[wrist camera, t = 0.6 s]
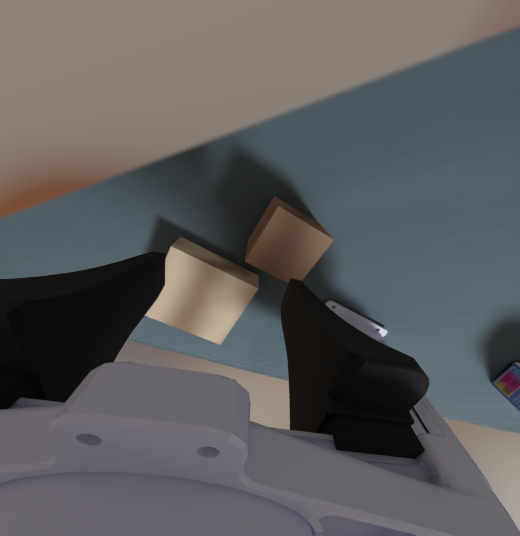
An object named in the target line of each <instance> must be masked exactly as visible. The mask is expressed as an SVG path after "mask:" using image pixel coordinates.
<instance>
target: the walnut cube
mask: <svg viewBox="0 0 520 536" xmlns="http://www.w3.org/2000/svg"><path fill="white" fill-rule="evenodd" d="M333 241H334V239H333V238H332V237H331V236H330V235H329V234H328V233H327V232H326V231H325V230H324V229H323V227H322V226H321V225H320V224H319V223H318V222H316V221H315V220H313V219H311V218H310V217H308V216H307V215H305V214H303V213H302V212H300V211H298V210H297V209H295V208H294V207H292V206H290V205H289V204H287V203H286V202H284V201H282V200H281V199H279V198H278V197H276V196H274V197H273V198H272V200H271V202H270V203H269V205H268V207H267V209H266V210H265V212H264V214H263V215H262V217H261V219H260V221H259V222H258V224H257V226H256V227H255V229H254V231H253V233H252V234H251V236H250V238H249V239H248V243H247V250H246V257H245V262H247V263H249V264H251V265H253V266H255V267H257V268H259V269H261V270H262V271H264V272H266V273H268V274H270V275H272V276H274V277H276V278H278V279H280V280H282V281H284V282H286V283H289V280H290V278H291V279H297V280H300V281H302V280H303V279H304V278H305V276H306V275H307V274H308V272H309V271H310V270H311V269H312V267H313V266H314V265H315V264H316V262H317V261H318V260H319V259H320V257H321V256H322V255H323V253H324V252H325V251H326V250H327V248H328V247H329V246H330V245H331V243H332V242H333Z"/></svg>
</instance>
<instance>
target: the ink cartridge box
mask: <svg viewBox="0 0 520 536" xmlns="http://www.w3.org/2000/svg"><path fill="white" fill-rule="evenodd" d="M491 384H492V385H493V386H494V387H495V388H496V389H497V390H498V391H499V392H500V393H501V394H502V395H503V396H504V397H505V398H506V399H507V400H508V401H509V402H510V403H511V404H513V405H514V406H515V407H516V408H517V409H518V410H519V411H520V363H519V362H514V363H513V364H512V365H511V366H510V367H509V368H508V369H506V370H505V371H504V372H503V373H502V374H501V375H499V376H498V377H497V378H496V379H495V380H493V381H492V382H491Z"/></svg>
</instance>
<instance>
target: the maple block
mask: <svg viewBox="0 0 520 536" xmlns="http://www.w3.org/2000/svg"><path fill="white" fill-rule="evenodd" d="M258 289H259V275H257V274H255V273H253V272H251V271H249V270H247V269H245V268H243V267H241V266H239V265H237V264H235V263H233V262H231V261H229V260H227V259H225V258H223V257H221V256H219V255H217V254H215V253H213V252H211V251H209V250H207V249H205V248H203V247H201V246H199V245H197V244H195V243H193V242H191V241H189V240H187V239H185V238H183V237H180V238H179V239H178V240H177V241H176V242H175V243H174V244H173V245H172V246H171V247H170V250H169V252H168V255H167V257H166V259H165V286H164V288H163V290H162V291H161V293H160V295H159V297H158V298H157V300H156V301H155V302H154V304H153V305H152V306H151V308H150V309H149V310H148V312H147V313H146V314H145V316H148V317H150V318H153V319H155V320H158V321H160V322H163V323H166V324H168V325H171V326H173V327H176V328H178V329H181V330H184V331H186V332H189V333H191V334H194V335H196V336H199V337H202V338H204V339H207V340H209V341H212V342H214V343H217V344H221V343H222V342H223V340H224V339H225V337H226V336H227V334H228V333H229V331H230V330H231V328H232V327H233V326H234V324H235V323H236V321H237V320H238V318H239V317H240V315H241V314H242V312H243V311H244V309H245V308H246V307H247V305H248V304H249V302H250V301H251V299H252V298H253V296H254V295H255V293H256V292H257V291H258Z"/></svg>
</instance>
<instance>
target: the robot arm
mask: <svg viewBox="0 0 520 536" xmlns="http://www.w3.org/2000/svg"><path fill="white" fill-rule="evenodd" d="M165 255H166V254H164V253H159V252H150V253H146V254H142V255H139V256H136V257H132V258H129V259H126V260H122V261H119V262H115V263H111V264H108V265H104V266H100V267H96V268H91V269H87V270H81V271H76V272H70V273H63V274H55V275H48V276H39V277H28V278H15V279H0V536H520V531H519V530H518V528H517V526H516V525H515V523H514V521H513V520H512V518H511V517H510V515H509V514H508V512H507V511H506V509H505V508H504V506H503V505H502V503H501V502H500V501H499V499H498V498H497V496H496V495H495V494H494V492H493V491H492V488H491V486H490V484H489V483H488V481H487V480H486V478H485V477H484V475H483V474H482V472H481V471H480V470H479V468H478V467H477V465H476V464H475V462H474V461H473V459H472V458H471V457H470V455H469V454H468V453H467V451H466V450H465V448H464V447H463V445H462V444H461V443H460V441H459V440H458V438H457V437H456V436H455V434H454V433H453V432H452V430H451V429H450V427H449V426H448V425H447V423H446V422H445V420H444V419H443V418H442V416H441V415H440V414H439V412H438V411H437V410H436V408H435V407H434V406H433V404H432V403H431V402H430V400H429V399H428V398H427V396H426V395H425V394H426V392H427V390H428V387H429V378H428V377H427V375H426V374H425V373H424V371H423V370H422V369H421V367H420V366H419V365H418V363H417V362H416V361H415V359H414V358H412V357H410V356H408V355H406V354H404V353H401V352H399V351H397V350H395V349H393V348H391V347H389V345H388V344H387V342H386V341H385V340H384V338H383V337H384V336H385V335H386V334H387V330H386V329H385V328H384V327H382V326H380V325H378V324H376V323H374V322H372V321H370V320H368V319H366V318H364V317H362V316H361V315H359V314H357V313H355V312H353V311H351V310H349V309H347V308H345V307H343V306H341V305H339V304H337V303H335V302H334V301H331V300H329V301H327V302H326V303H325V304H324V303H323V302H322V301H321V300H320V299H319V298H318V297H317V296H316V295H315V294H314V293H313V292H312V291H311V290H310V289H309V288H308V287H307V286H306V285H305V284H304V283H303V282H302V281H300V280H297V279H291V278H290V280H289V283H288V286H287V289H286V292H285V295H284V298H283V301H282V304H281V321H282V328H283V334H284V339H285V345H286V351H287V358H288V372H289V394H290V430H287V429H278V428H270V427H266V426H263V425H260V424H258V423H255V422H251V421H250V397H249V392H248V391H246V389H245V388H243V387H242V386H241V385H240V384H239V383H238V382H237V381H236V380H233V379H230V378H227V377H224V376H221V375H217V374H210V373H203V372H196V371H189V370H182V369H175V368H168V367H162V366H154V365H148V364H141V363H134V362H114V360H115V358H116V357H117V355H118V353H119V351H120V350H121V348H122V347H123V345H124V343H125V342H126V340H127V339H128V337H129V335H130V334H131V333H132V331H133V330H134V328H135V327H136V326H137V324H138V323H139V322H140V321H141V319H142V318H143V317H144V315H145V314H146V313H147V312H148V310H149V309H150V308H151V306H152V305H153V304H154V302H155V301H156V300H157V298H158V297H159V295H160V293H161V291H162V290H163V288H164V286H165ZM332 306H334V307H332ZM377 328H378V329H377Z"/></svg>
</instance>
